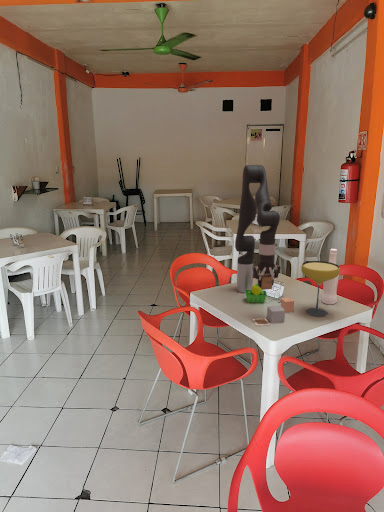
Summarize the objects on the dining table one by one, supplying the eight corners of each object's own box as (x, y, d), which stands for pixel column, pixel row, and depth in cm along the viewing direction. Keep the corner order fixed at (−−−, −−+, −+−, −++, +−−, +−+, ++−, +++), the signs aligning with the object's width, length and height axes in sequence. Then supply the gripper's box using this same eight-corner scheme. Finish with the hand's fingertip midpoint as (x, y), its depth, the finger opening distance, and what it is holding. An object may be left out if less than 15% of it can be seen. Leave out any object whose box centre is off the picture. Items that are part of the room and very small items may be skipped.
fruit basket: (265, 298, 218) (266, 279, 215) (266, 304, 209) (267, 285, 206) (244, 298, 219) (245, 279, 216) (245, 304, 210) (246, 284, 207)
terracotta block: (280, 309, 203) (281, 298, 202) (289, 308, 204) (290, 297, 203) (284, 312, 199) (284, 301, 197) (293, 312, 199) (294, 301, 198)
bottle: (317, 301, 214) (322, 248, 206) (328, 298, 217) (333, 246, 210) (329, 306, 207) (333, 251, 199) (339, 303, 210) (345, 249, 203)
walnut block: (258, 286, 192) (259, 274, 191) (268, 285, 193) (269, 274, 191) (262, 289, 187) (262, 277, 186) (272, 289, 188) (272, 277, 186)
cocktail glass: (302, 319, 190) (306, 270, 184) (295, 305, 208) (298, 260, 202) (340, 320, 189) (345, 271, 183) (329, 306, 207) (333, 260, 200)
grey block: (266, 317, 193) (267, 306, 191) (279, 316, 194) (279, 305, 192) (271, 323, 187) (272, 311, 185) (284, 322, 188) (284, 310, 186)
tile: (251, 320, 190) (252, 318, 190) (265, 319, 191) (265, 317, 191) (256, 326, 183) (256, 324, 183) (270, 325, 184) (270, 323, 184)
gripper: (278, 250, 190) (276, 283, 194) (250, 251, 188) (249, 284, 192) (284, 254, 183) (282, 288, 187) (254, 255, 181) (253, 289, 185)
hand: (265, 286), depth 190 cm, fingers closed on walnut block, 5 cm apart
